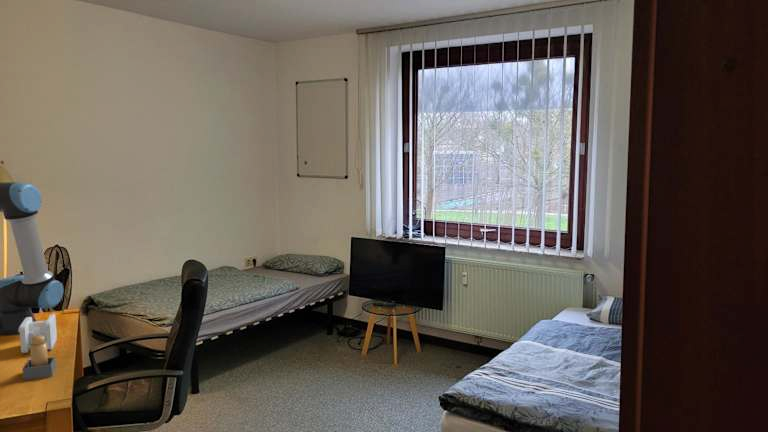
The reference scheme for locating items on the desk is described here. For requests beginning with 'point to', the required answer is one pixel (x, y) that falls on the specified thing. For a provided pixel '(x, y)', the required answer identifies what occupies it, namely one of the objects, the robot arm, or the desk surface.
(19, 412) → the desk surface
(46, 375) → the grey open square box
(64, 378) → the desk surface
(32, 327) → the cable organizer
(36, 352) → the beige rounded figurine
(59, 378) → the desk surface
